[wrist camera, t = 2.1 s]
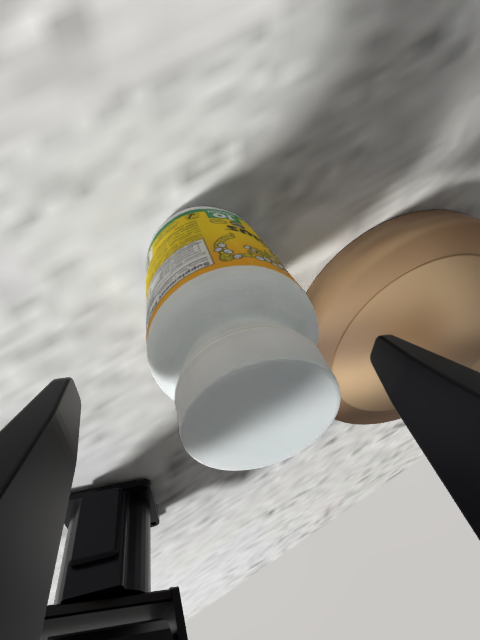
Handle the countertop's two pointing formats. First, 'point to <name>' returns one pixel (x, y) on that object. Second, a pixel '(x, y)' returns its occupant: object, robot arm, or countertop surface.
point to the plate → (398, 302)
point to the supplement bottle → (234, 343)
